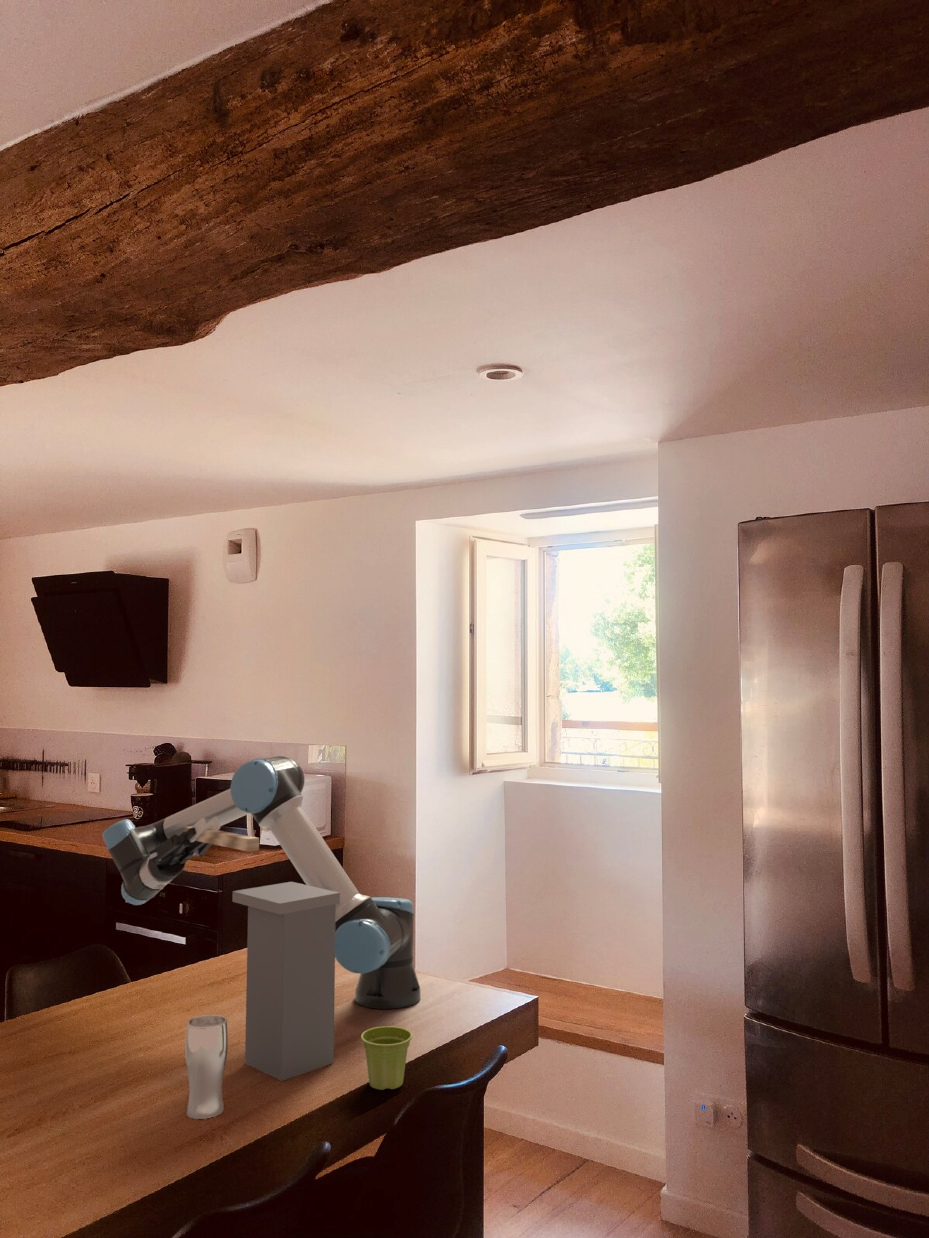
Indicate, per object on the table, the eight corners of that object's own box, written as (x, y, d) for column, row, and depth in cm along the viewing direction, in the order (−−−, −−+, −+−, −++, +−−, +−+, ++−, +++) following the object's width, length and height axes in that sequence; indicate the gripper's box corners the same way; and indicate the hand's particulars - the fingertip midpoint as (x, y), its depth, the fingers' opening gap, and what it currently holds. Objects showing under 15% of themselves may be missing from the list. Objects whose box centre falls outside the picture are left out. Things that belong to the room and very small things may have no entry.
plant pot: (422, 1080, 177) (422, 1031, 177) (391, 1098, 169) (391, 1047, 169) (381, 1070, 182) (382, 1022, 182) (349, 1087, 174) (350, 1037, 174)
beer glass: (214, 1122, 159) (217, 1028, 160) (176, 1118, 160) (178, 1026, 162) (233, 1105, 166) (235, 1015, 167) (195, 1101, 167) (198, 1012, 168)
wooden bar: (183, 838, 214) (183, 826, 215) (193, 837, 216) (193, 825, 216) (248, 851, 196) (248, 838, 197) (258, 850, 198) (259, 837, 198)
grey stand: (229, 1059, 187) (232, 891, 189) (289, 1041, 197) (291, 881, 199) (276, 1082, 176) (279, 903, 178) (337, 1061, 186) (339, 892, 188)
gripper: (197, 877, 226) (246, 835, 213) (134, 886, 215) (182, 842, 202) (189, 847, 230) (237, 804, 216) (127, 855, 219) (174, 810, 205)
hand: (210, 823), depth 209 cm, fingers closed on wooden bar, 2 cm apart
